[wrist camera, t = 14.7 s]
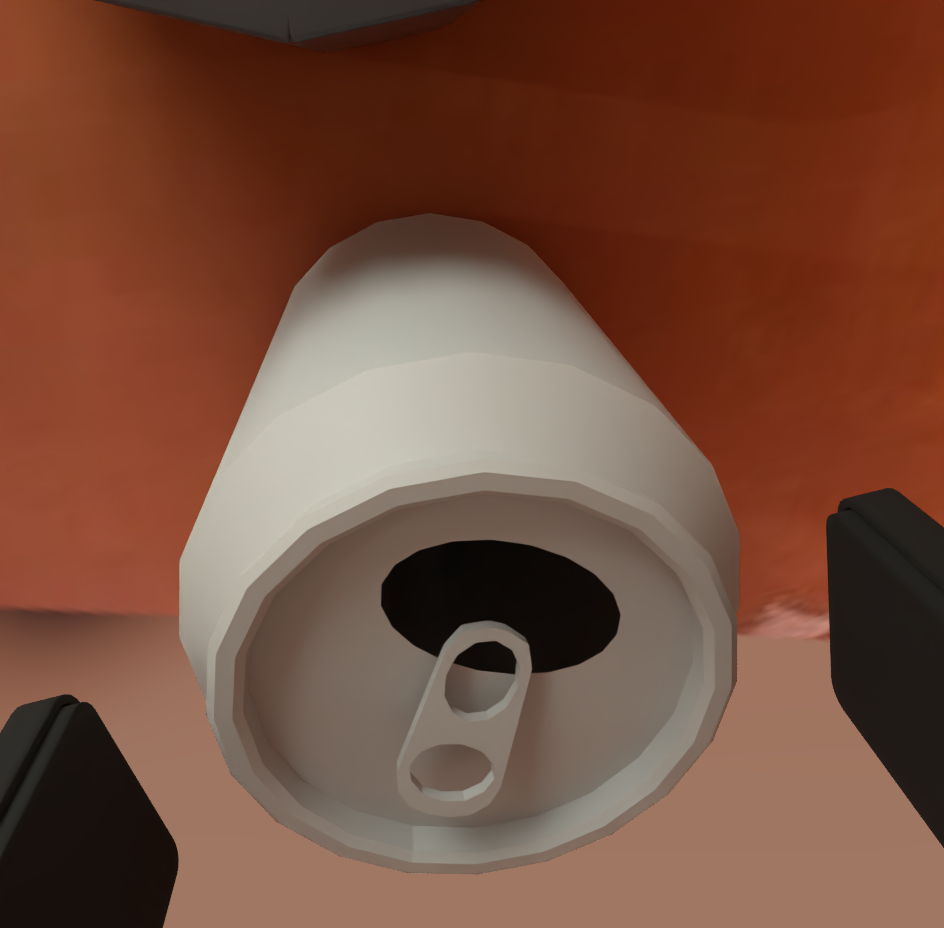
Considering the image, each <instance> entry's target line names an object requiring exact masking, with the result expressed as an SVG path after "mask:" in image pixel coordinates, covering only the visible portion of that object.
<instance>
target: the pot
mask: <svg viewBox="0 0 944 928" xmlns="http://www.w3.org/2000/svg"><path fill="white" fill-rule="evenodd" d="M95 1H99V2H104V3H108V4H112V5H116V6H121V7H125V8H129V9H134V10H138V11H142V12H147V13H151V14H155V15H160V16H164V17H168V18H173V19H177V20H181V21H186V22H190V23H194V24H199V25H203V26H207V27H212V28H216V29H221V30H225V31H230V32H234V33H239V34H243V35H248V36H252V37H257V38H261V39H266V40H270V41H275V42H279V43H284V44H288V45H293V46H297V47H302V48H306V49H311V50H315V51H320V52H335V51H340V50H344V49H349V48H353V47H358V46H362V45H367V44H372V43H376V42H383V41H388V40H391V39H394V38H399V37H403V36H408V35H412V34H417V33H421V32H426V31H430V30H435V29H439V28H442V27H443V26H444V25H447V24H450V23H451V22H452V21H454V20H455V19H457V18H458V17H460V16H461V15H462V14H464V13H465V12H467V11H468V10H470V9H471V8H472V7H474V6H475V5H477V4H478V3H480V2H481V1H482V0H95Z"/></svg>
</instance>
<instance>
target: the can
mask: <svg viewBox="0 0 944 928" xmlns="http://www.w3.org/2000/svg"><path fill="white" fill-rule="evenodd" d="M739 590H740V534H739V531H738V529H737V526H736V524H735V521H734V518H733V516H732V513H731V511H730V508H729V506H728V503H727V501H726V498H725V496H724V493H723V491H722V488H721V486H720V483H719V481H718V478H717V476H716V473H715V471H714V468H713V466H712V464H711V463H710V462H709V461H708V459H707V458H706V457H705V456H704V454H703V453H702V452H701V451H700V450H699V448H698V447H697V446H696V445H695V443H694V442H693V441H692V440H691V439H690V437H689V436H688V435H687V434H686V432H685V431H684V430H683V429H682V428H681V426H680V425H679V424H678V423H677V421H676V420H675V419H674V418H673V416H672V415H671V414H670V413H669V412H668V410H667V409H666V408H665V407H664V405H663V404H662V403H661V402H660V401H659V399H658V398H657V397H656V396H655V394H654V393H653V392H652V391H651V390H650V388H649V387H648V386H647V385H646V383H645V382H644V381H643V380H642V379H641V377H640V376H639V375H638V374H637V372H636V371H635V370H634V369H633V368H632V366H631V365H630V364H629V363H628V361H627V360H626V359H625V358H624V357H623V355H622V354H621V353H620V352H619V350H618V349H617V348H616V347H615V345H614V344H613V343H612V342H611V341H610V339H609V338H608V337H607V336H606V334H605V333H604V332H603V331H602V330H601V328H600V327H599V326H598V325H597V323H596V322H595V321H594V320H593V319H592V317H591V316H590V315H589V314H588V312H587V311H586V310H585V309H584V308H583V306H582V305H581V304H580V303H579V301H578V300H577V299H576V298H575V297H574V295H573V294H572V293H571V292H570V290H569V289H568V288H567V287H566V286H565V284H564V283H563V282H562V281H561V280H560V279H559V278H558V276H557V275H556V274H555V273H554V272H553V271H552V270H551V269H550V268H549V267H548V266H547V265H546V264H545V263H544V262H543V261H542V260H541V258H540V257H539V256H538V255H537V254H536V253H535V252H534V251H533V250H532V249H531V248H530V247H529V246H528V245H527V244H525V243H523V242H521V241H519V240H517V239H515V238H513V237H511V236H509V235H507V234H506V233H504V232H502V231H500V230H498V229H496V228H494V227H492V226H490V225H488V224H486V223H485V222H483V221H477V220H471V219H464V218H458V217H451V216H445V215H439V214H432V213H427V214H421V215H416V216H410V217H404V218H398V219H392V220H387V221H381V222H376V223H374V224H372V225H371V226H369V227H367V228H365V229H363V230H361V231H359V232H358V233H356V234H354V235H352V236H350V237H348V238H347V239H345V240H343V241H341V242H339V243H337V244H336V245H334V246H332V247H330V248H329V249H328V250H327V251H326V252H325V253H324V255H323V256H322V257H321V258H320V259H319V260H318V261H317V262H316V263H315V264H314V266H313V267H312V268H311V269H310V270H309V271H308V272H307V273H306V274H305V275H304V276H303V278H302V279H301V280H300V281H299V282H298V283H297V284H296V285H295V287H294V289H293V292H292V294H291V296H290V299H289V301H288V304H287V306H286V308H285V311H284V313H283V315H282V318H281V320H280V322H279V325H278V327H277V330H276V332H275V334H274V337H273V339H272V342H271V344H270V346H269V349H268V351H267V353H266V356H265V358H264V361H263V363H262V365H261V368H260V370H259V373H258V375H257V377H256V380H255V382H254V384H253V387H252V389H251V392H250V394H249V396H248V399H247V401H246V404H245V406H244V408H243V411H242V413H241V415H240V418H239V420H238V423H237V425H236V427H235V430H234V432H233V435H232V437H231V439H230V442H229V444H228V446H227V449H226V451H225V454H224V456H223V458H222V461H221V463H220V466H219V468H218V470H217V473H216V475H215V477H214V480H213V482H212V485H211V487H210V489H209V492H208V494H207V497H206V499H205V501H204V504H203V506H202V508H201V511H200V513H199V516H198V518H197V520H196V523H195V525H194V528H193V530H192V532H191V535H190V537H189V539H188V542H187V544H186V547H185V549H184V551H183V554H182V556H181V559H180V572H179V637H180V640H181V642H182V644H183V647H184V649H185V652H186V654H187V657H188V659H189V662H190V664H191V666H192V669H193V671H194V674H195V676H196V679H197V681H198V683H199V686H200V688H201V691H202V693H203V696H204V698H205V700H206V715H207V718H208V720H209V723H210V725H211V727H212V730H213V732H214V735H215V737H216V740H217V742H218V744H219V747H220V749H221V751H222V754H223V756H224V759H225V761H226V764H227V766H228V768H229V771H230V773H231V775H232V776H233V777H234V778H235V779H236V780H237V781H238V782H239V783H240V784H241V785H242V786H243V787H244V788H245V790H247V792H248V793H249V794H250V795H251V796H252V797H253V798H254V799H255V800H256V801H257V802H258V803H259V804H260V805H261V806H262V807H263V808H264V809H265V810H266V811H267V812H268V813H269V815H270V816H271V817H272V818H273V819H275V821H276V822H278V823H280V824H282V825H283V826H285V827H287V828H289V829H291V830H293V831H295V832H296V833H298V834H300V835H302V836H304V837H305V838H307V839H309V840H311V841H313V842H315V843H317V844H318V845H320V846H322V847H324V848H326V849H327V850H329V851H331V852H333V853H335V854H337V855H339V856H341V857H345V858H349V859H354V860H357V861H361V862H366V863H370V864H374V865H378V866H381V867H386V868H390V869H394V870H398V871H402V872H406V873H438V874H439V873H441V874H482V873H487V872H493V871H497V870H503V869H508V868H514V867H519V866H525V865H530V864H535V863H540V862H546V861H549V860H551V859H553V858H556V857H558V856H561V855H563V854H566V853H568V852H571V851H573V850H575V849H578V848H580V847H583V846H585V845H587V844H590V843H592V842H594V841H597V840H599V839H602V838H604V837H606V836H609V835H612V834H613V833H614V832H616V831H617V830H619V829H620V828H621V827H623V826H624V825H625V824H627V823H628V822H630V821H631V820H633V819H634V818H635V817H637V816H638V815H640V814H641V813H643V812H644V811H645V810H647V809H648V808H650V807H651V806H652V805H654V804H655V803H657V802H658V801H659V800H660V799H662V798H664V797H665V796H666V795H668V794H669V792H671V790H672V789H673V788H674V787H675V786H676V784H677V783H678V782H679V781H680V779H681V778H682V777H683V776H684V775H685V773H686V772H687V771H688V770H689V769H690V767H691V766H692V765H693V764H694V763H695V761H696V760H697V759H698V758H699V757H700V755H701V754H702V753H703V752H704V751H705V749H706V748H707V747H708V746H709V745H710V743H711V742H712V741H713V739H714V736H715V734H716V731H717V729H718V726H719V724H720V721H721V719H722V717H723V714H724V712H725V709H726V707H727V704H728V701H729V699H730V697H731V694H732V692H733V689H734V687H735V684H736V681H737V615H736V613H737V611H738V608H739Z"/></svg>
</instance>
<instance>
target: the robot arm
mask: <svg viewBox="0 0 944 928" xmlns="http://www.w3.org/2000/svg"><path fill="white" fill-rule="evenodd" d="M826 533H827V563H828V593H829V624H830V654H831V678H832V685H833V689H834V692H835V694H836V697H837V699H838V701H839V703H840V705H841V707H842V708H843V710H844V711H845V713H846V714H847V715H848V717H849V718H850V719H851V721H852V722H853V724H854V725H855V726H856V728H857V729H858V730H859V732H860V733H861V734H862V736H863V737H864V739H865V740H866V741H867V743H868V744H869V746H870V747H871V748H872V750H873V751H874V752H875V754H876V755H877V757H878V758H879V759H880V761H881V762H882V763H883V765H884V766H885V768H886V769H887V770H888V772H889V773H890V775H891V776H892V777H893V779H894V780H895V781H896V783H897V784H898V786H899V787H900V788H901V790H902V791H903V792H904V794H905V795H906V797H907V798H908V799H909V801H910V802H911V803H912V805H913V806H914V808H915V809H916V810H917V812H918V813H919V814H920V815H921V817H922V818H923V820H924V821H925V823H926V824H927V825H928V827H929V828H930V830H931V831H932V832H933V834H934V835H935V837H936V838H937V839H938V841H939V842H940V843H941V845H942V846H943V848H944V528H943V527H942V526H941V525H940V524H938V523H937V522H936V521H935V520H933V519H932V518H931V517H930V516H928V515H927V514H926V513H925V512H923V511H922V510H921V509H920V508H918V507H917V506H916V505H915V504H913V503H912V502H911V501H910V500H908V499H907V498H906V497H905V496H903V495H902V494H901V493H900V492H898V491H896V490H895V489H893V488H885V489H881V490H877V491H873V492H869V493H865V494H861V495H857V496H853V497H849V498H846V499H843V500H842V501H841V502H840V504H839V506H838V513H835V514H831V515H830V516H828V519H827V524H826ZM177 871H178V851H177V847H176V844H175V842H174V839H173V838H172V836H171V834H170V833H169V831H168V829H167V828H166V826H165V824H164V823H163V821H162V820H161V818H160V816H159V815H158V813H157V811H156V810H155V808H154V806H153V805H152V803H151V802H150V800H149V798H148V796H147V795H146V793H145V791H144V790H143V788H142V786H141V785H140V783H139V781H138V780H137V778H136V776H135V775H134V773H133V772H132V770H131V768H130V766H129V765H128V763H127V761H126V760H125V758H124V757H123V755H122V753H121V752H120V750H119V748H118V747H117V745H116V743H115V742H114V740H113V738H112V737H111V735H110V733H109V732H108V730H107V728H106V727H105V725H104V723H103V722H102V720H101V718H100V717H99V715H98V714H97V712H96V710H95V709H94V708H93V706H92V705H90V704H89V703H87V702H81V703H80V702H79V701H78V699H76V698H75V697H73V696H72V695H60V696H56V697H52V698H48V699H45V700H40V701H37V702H32V703H29V704H24V705H22V706H20V707H18V708H17V709H16V710H15V711H14V712H13V713H12V714H11V716H10V718H9V719H8V721H7V723H6V724H5V726H4V728H3V729H2V731H1V733H0V928H163V924H164V921H165V917H166V913H167V909H168V906H169V902H170V898H171V895H172V891H173V887H174V883H175V879H176V876H177Z"/></svg>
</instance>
